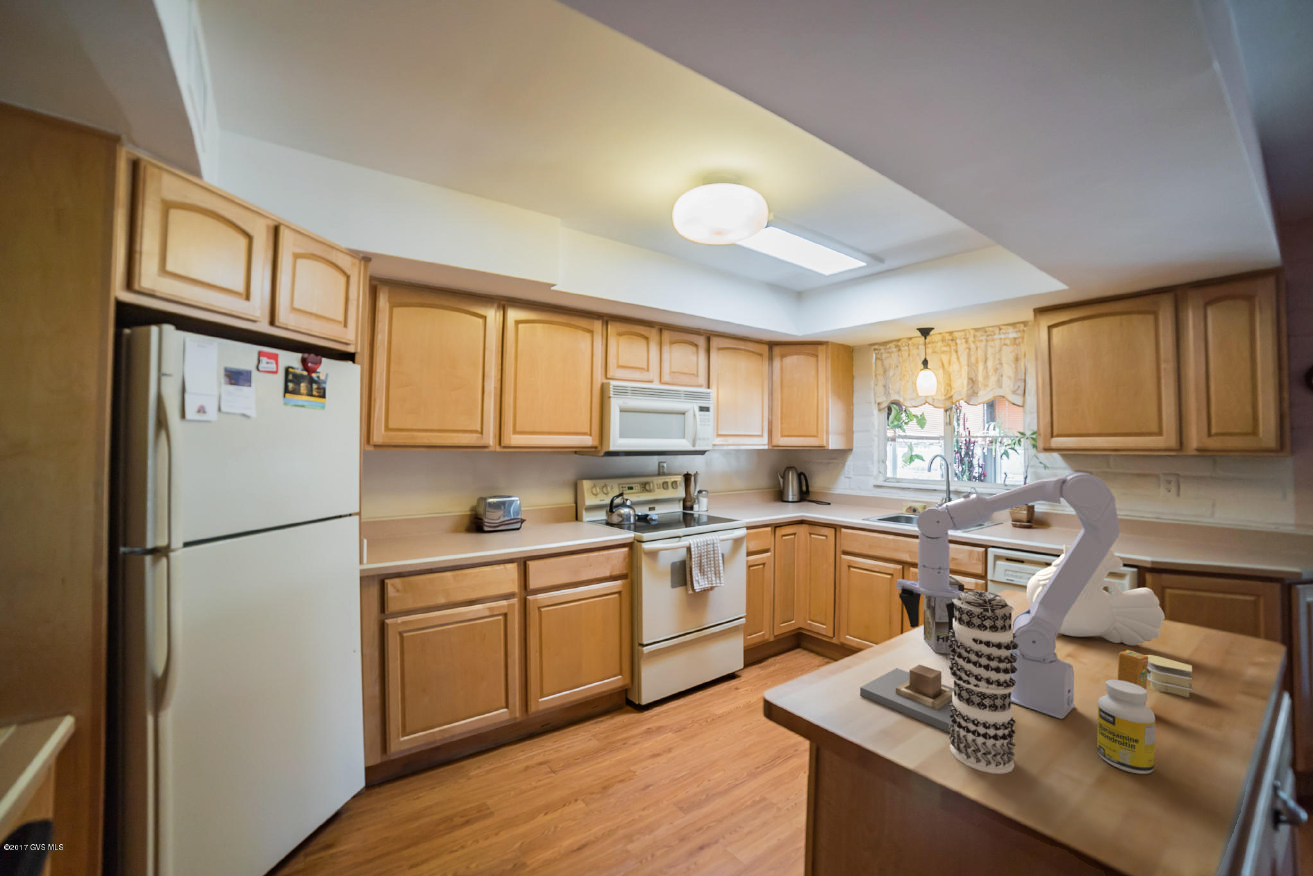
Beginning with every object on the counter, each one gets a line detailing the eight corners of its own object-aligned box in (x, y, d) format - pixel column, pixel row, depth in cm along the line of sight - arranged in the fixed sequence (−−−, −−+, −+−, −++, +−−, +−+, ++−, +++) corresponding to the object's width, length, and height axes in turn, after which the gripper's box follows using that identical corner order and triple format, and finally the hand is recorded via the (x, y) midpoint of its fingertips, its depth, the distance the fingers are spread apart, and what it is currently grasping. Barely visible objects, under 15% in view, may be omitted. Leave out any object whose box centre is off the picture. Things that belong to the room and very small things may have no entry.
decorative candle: (1028, 762, 79) (1029, 597, 79) (999, 783, 74) (1000, 607, 74) (966, 733, 87) (967, 583, 87) (935, 751, 82) (936, 591, 82)
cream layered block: (1202, 691, 103) (1202, 663, 103) (1204, 707, 97) (1204, 677, 97) (1134, 675, 110) (1134, 649, 110) (1131, 689, 104) (1131, 661, 104)
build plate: (994, 711, 94) (994, 697, 94) (961, 738, 85) (961, 722, 85) (896, 675, 108) (896, 663, 108) (860, 695, 100) (860, 682, 100)
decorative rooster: (1004, 599, 139) (1065, 538, 125) (1032, 581, 147) (1093, 521, 132) (1100, 683, 124) (1183, 624, 109) (1126, 657, 132) (1207, 599, 117)
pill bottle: (1086, 750, 82) (1086, 677, 82) (1123, 749, 83) (1124, 676, 83) (1126, 777, 76) (1127, 697, 76) (1167, 775, 76) (1167, 696, 76)
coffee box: (965, 655, 119) (965, 584, 119) (934, 653, 120) (934, 583, 120) (950, 640, 128) (951, 574, 128) (922, 638, 129) (923, 573, 129)
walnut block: (941, 704, 96) (941, 671, 97) (931, 711, 94) (931, 677, 94) (919, 695, 100) (919, 664, 100) (909, 702, 97) (909, 670, 97)
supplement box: (1139, 714, 94) (1140, 658, 94) (1116, 705, 97) (1116, 651, 97) (1148, 710, 95) (1148, 655, 95) (1124, 701, 98) (1124, 648, 98)
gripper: (889, 561, 111) (889, 625, 111) (963, 576, 99) (962, 647, 99) (905, 557, 115) (905, 619, 115) (978, 571, 104) (977, 639, 104)
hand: (932, 631), depth 107 cm, fingers open, 7 cm apart
